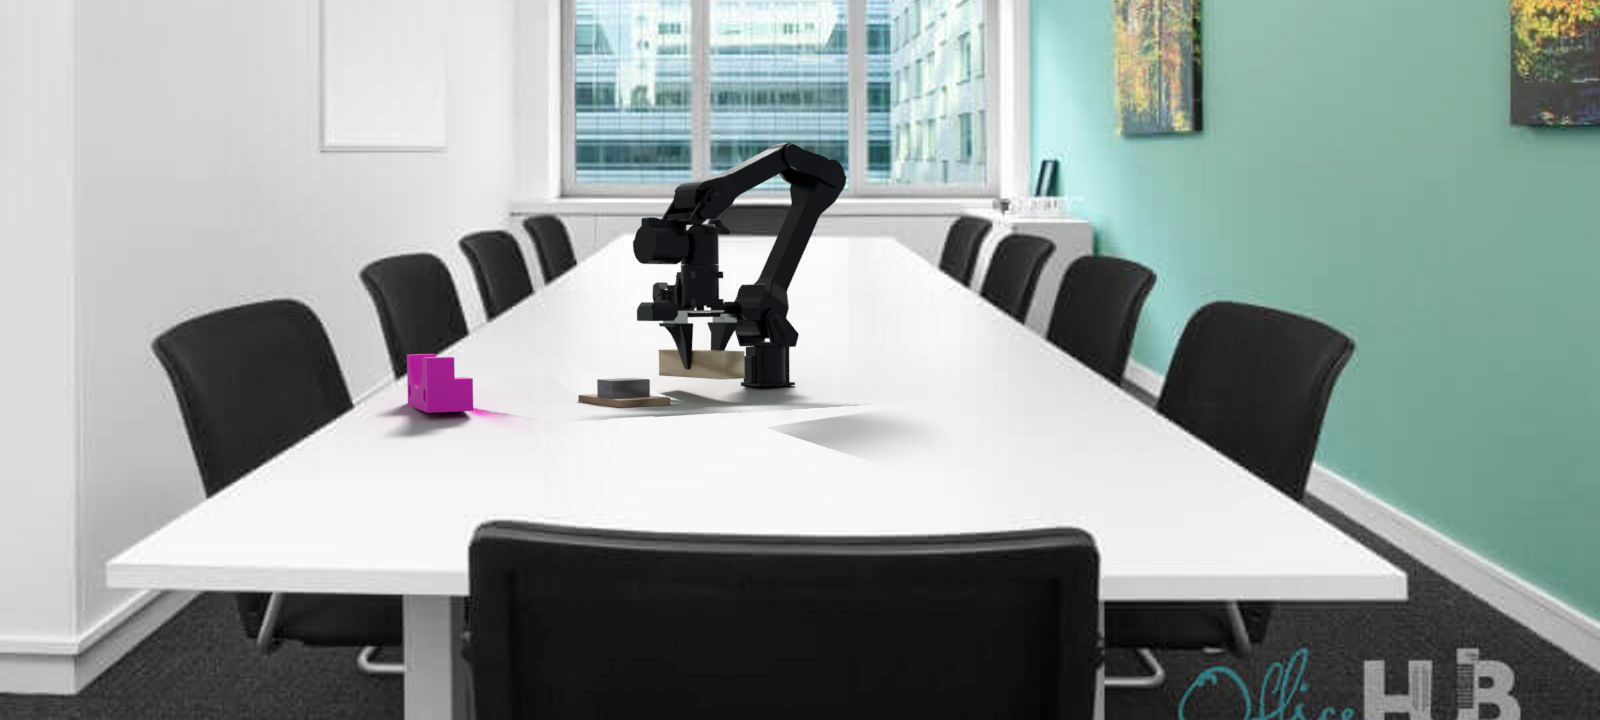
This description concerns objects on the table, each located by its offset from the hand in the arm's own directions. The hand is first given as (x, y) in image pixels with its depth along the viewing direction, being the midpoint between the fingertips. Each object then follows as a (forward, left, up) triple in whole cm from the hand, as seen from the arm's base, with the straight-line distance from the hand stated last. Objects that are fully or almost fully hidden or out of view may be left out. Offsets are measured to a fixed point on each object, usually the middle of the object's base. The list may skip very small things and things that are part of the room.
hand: (700, 368), depth 203 cm
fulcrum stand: (+13, 0, -5) cm, 14 cm away
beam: (0, 0, -1) cm, 1 cm away
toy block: (+36, -11, -5) cm, 38 cm away
